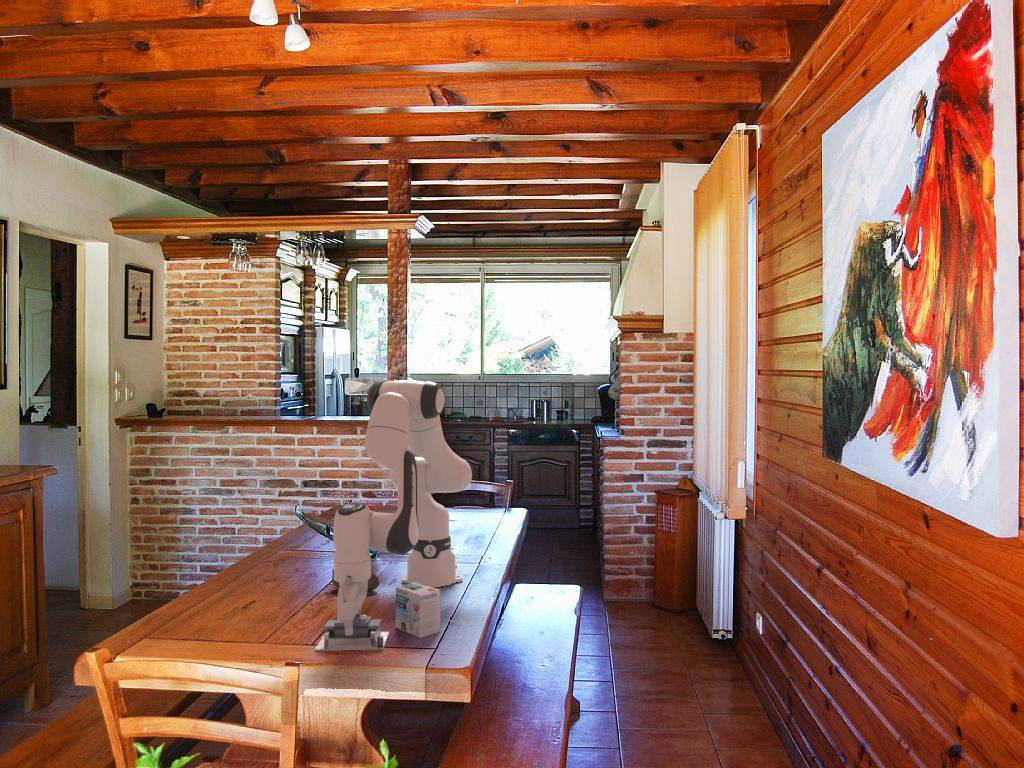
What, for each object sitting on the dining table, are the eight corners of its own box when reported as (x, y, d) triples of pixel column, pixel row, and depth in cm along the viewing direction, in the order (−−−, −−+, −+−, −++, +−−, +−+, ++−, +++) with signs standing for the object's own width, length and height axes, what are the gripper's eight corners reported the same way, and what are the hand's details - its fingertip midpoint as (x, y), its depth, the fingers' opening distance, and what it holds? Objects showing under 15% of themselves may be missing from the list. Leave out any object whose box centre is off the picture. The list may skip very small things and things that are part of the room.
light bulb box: (394, 628, 195) (394, 586, 194) (416, 621, 199) (415, 581, 199) (420, 638, 187) (420, 595, 187) (441, 631, 192) (441, 589, 191)
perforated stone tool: (383, 589, 228) (383, 566, 228) (374, 594, 224) (374, 571, 223) (340, 585, 234) (339, 562, 233) (330, 590, 229) (330, 567, 228)
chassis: (325, 634, 190) (325, 620, 190) (389, 633, 190) (389, 619, 190) (314, 651, 179) (314, 635, 179) (382, 650, 179) (382, 634, 179)
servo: (328, 637, 187) (328, 613, 187) (381, 636, 187) (381, 612, 187) (324, 643, 182) (324, 619, 182) (378, 643, 183) (378, 618, 183)
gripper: (357, 583, 174) (358, 642, 174) (372, 560, 194) (372, 613, 195) (330, 583, 174) (330, 643, 174) (347, 560, 194) (348, 614, 195)
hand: (353, 627), depth 185 cm, fingers open, 8 cm apart
